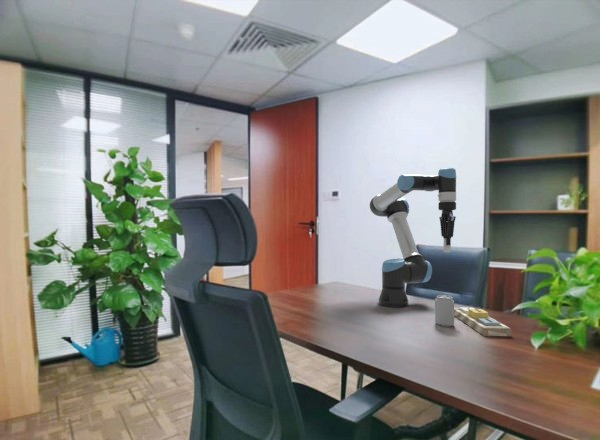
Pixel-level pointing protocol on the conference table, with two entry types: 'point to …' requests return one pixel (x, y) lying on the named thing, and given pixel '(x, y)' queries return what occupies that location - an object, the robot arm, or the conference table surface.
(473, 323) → the frame
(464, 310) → the tile
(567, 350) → the conference table surface
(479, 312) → the tile
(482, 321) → the tile
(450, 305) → the can
